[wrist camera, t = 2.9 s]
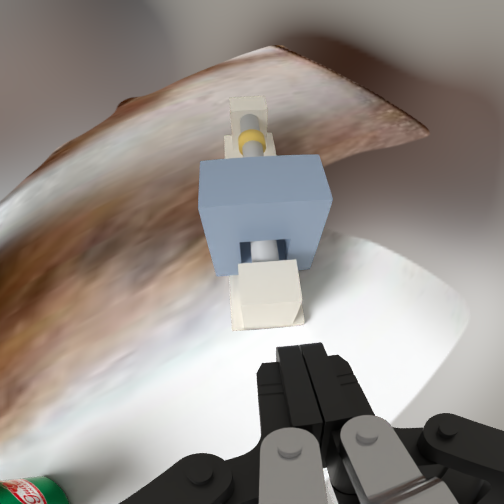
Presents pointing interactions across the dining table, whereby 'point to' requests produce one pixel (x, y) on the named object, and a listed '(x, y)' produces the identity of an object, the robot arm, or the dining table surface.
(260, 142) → the rail stand
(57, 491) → the soda can
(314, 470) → the robot arm
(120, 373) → the dining table surface
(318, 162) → the collar
